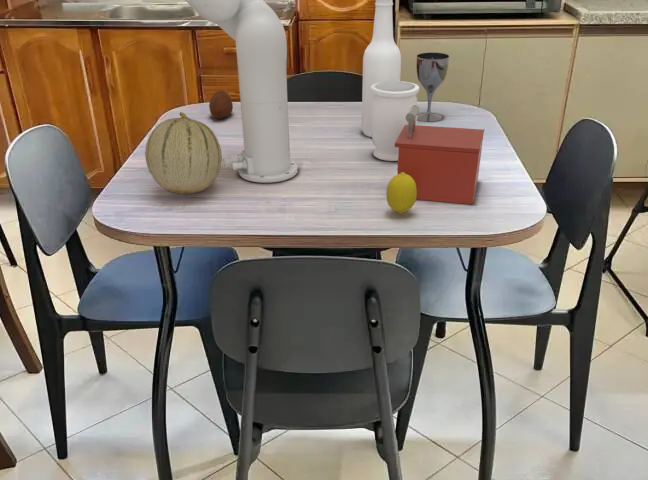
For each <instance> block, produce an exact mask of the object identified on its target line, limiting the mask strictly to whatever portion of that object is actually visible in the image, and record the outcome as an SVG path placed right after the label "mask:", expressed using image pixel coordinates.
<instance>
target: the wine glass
mask: <svg viewBox="0 0 648 480" xmlns="http://www.w3.org/2000/svg"><path fill="white" fill-rule="evenodd" d="M449 64H450V55H449V54H447V53H442V52H423V53H418V54H417V55H416V76H417V79H418V82H419V83H420V85H421V86H422V88H424V90H425V92H426V96H427V111H426V112H423V113H418V116H417V121H421V122H438V121H441V120H442V119H443V116H442V115H440V114H437V113H432V112H431V108H432V102H433V101H432V100H433V96H434V93H435V92H436V91H437V90H438V89H439V87H440V86H441V85H442V84H443V83H444V81H445V79H446V77H447V74H448V70H449Z"/></svg>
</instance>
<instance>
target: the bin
mask: <svg viewBox="0 0 648 480" xmlns="http://www.w3.org/2000/svg"><path fill="white" fill-rule="evenodd" d="M483 140H484V137H483V138H482V142H481V146H480V150H479V153H470V152H456V151H442V150H428V149H414V148H400V147H399V153H398V161H397V174H400V173H401V172H404V173H405V174H407V175H409V176H411V177H412V178H413V179H414V181H415V183H416V188H417V197H416V200H419V201H420V200H421V201H430V202H432V201H433V202H440V203H442V202H443V203H452V204H466V205H473V204H474V199H475V197H476V192H477V191H476V190H477V187H478V183H479V172H480V167H481V166H480V165H481V159H482V158H481V157H482V151H483V150H482V149H483ZM397 174H396V175H397Z"/></svg>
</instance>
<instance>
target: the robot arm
mask: <svg viewBox="0 0 648 480" xmlns="http://www.w3.org/2000/svg"><path fill="white" fill-rule="evenodd" d="M184 1H185V2H186V3H187V4H188V5H189V6H190V7H191V8H192V9H193V10H194V11H195V12H196V13H197V14H198V15H199V16H200V17H201V18H202V19H205V20H206V21H208V22H210V23H214V24H216V26H218V27H219V28H220V29H221V30H222V31H223V32H224V33H225V34H227V35H228V36H229V37H230V38H231V39H232V40H234V41H235V51H236V61H237V77H238V78H237V79H238V90H239V91H238V92H239V99H240V100H239V101H240V112H241V125H242V137H243V148H244V149H243V150H240V154H238V155H237V154H236V155H237V156H236V157H225V158H222V165H223V168H224V169H225V168H226V169H228V168H231V170H232V171H234V170H238V174H239V175H238V176H240V178H242V179H244V180H246V181H249V182H252V183H253V182H254V183H264V184H267V183H269V184H270V183H278V182H283V181H287V180H290V179H293V178H294V177H295V176H296V175H297V174H298V171H299V169H298V167H299V166H298V164H297V163H295V161H293V160H291V150H290V149H291V148H290V146H291V145H290V125H289V124H290V123H289V100H288V79H287V75H288V74H287V73H288V72H287V69H288V68H287V67H288V66H287V64H288V63H287V62H288V61H287V60H288V58H287V57H288V42H287V34H286V31H285V27H284V26H283V25H284V24H283V23H282V21H281V19H280V18H279V16H278V15H277V13H276V12H275V11H274V9H273V8H272V7H270V6H269V4H267V3H266V2H265V1H264V0H184Z"/></svg>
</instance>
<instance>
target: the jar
mask: <svg viewBox="0 0 648 480" xmlns="http://www.w3.org/2000/svg"><path fill="white" fill-rule="evenodd" d="M371 92H372V93H373V97H372V101H371V108H370V124H371V129H372V137H371V138H372V143H373V145H374V147H375V149H374V150H373V156H374V157H375V158H376V159H378V160H381V161H387V162H398V153H399V147H395V142H396V140H397V138H398V136H399V135H400V133H401V131H402V129H403V128H404V126H405V125H408V122H407V120H406V115H407V113H408V111H409V110H410V108H411V106H413V105H417V106H418V107H419V104H418V98H417V95H418V94H419V93H420V86H419V84H417V83H414V82H411V81H402V80H400V81H385V82H379V83H376V84H373V85H372V86H371ZM417 116H418V115H417ZM417 116H416V124H417V123H418V120H417Z"/></svg>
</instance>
